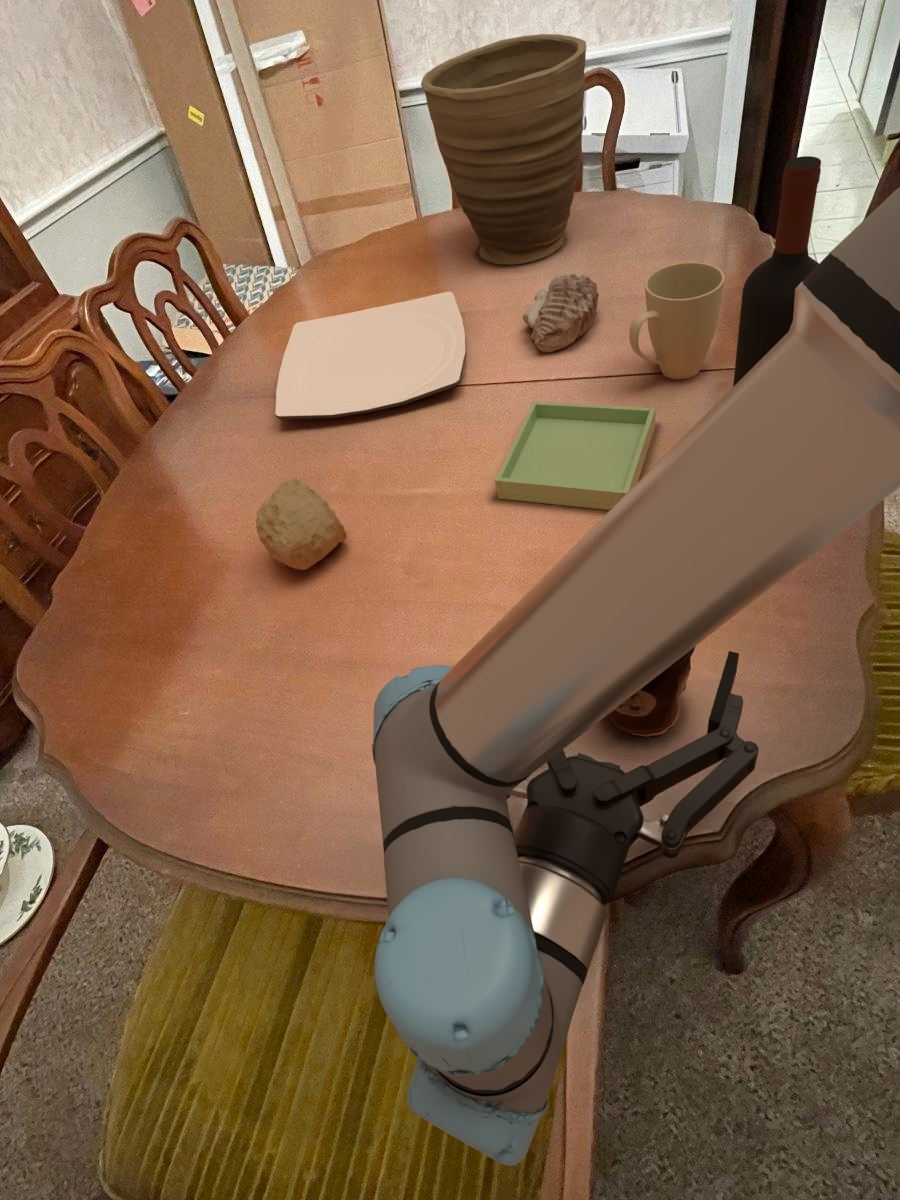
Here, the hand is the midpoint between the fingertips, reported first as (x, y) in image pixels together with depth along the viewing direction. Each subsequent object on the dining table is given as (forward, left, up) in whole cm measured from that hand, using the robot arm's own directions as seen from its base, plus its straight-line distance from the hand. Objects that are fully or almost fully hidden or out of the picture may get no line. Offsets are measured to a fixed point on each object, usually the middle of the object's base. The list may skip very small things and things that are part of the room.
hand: (646, 641), depth 62 cm
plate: (+50, -48, -8) cm, 70 cm away
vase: (+38, -85, -8) cm, 94 cm away
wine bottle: (-6, -35, -8) cm, 37 cm away
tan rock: (+41, -10, -8) cm, 43 cm away
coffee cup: (0, +2, -8) cm, 8 cm away
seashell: (+24, -59, -8) cm, 65 cm away
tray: (+14, -30, -8) cm, 34 cm away
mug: (+6, -49, -8) cm, 50 cm away
